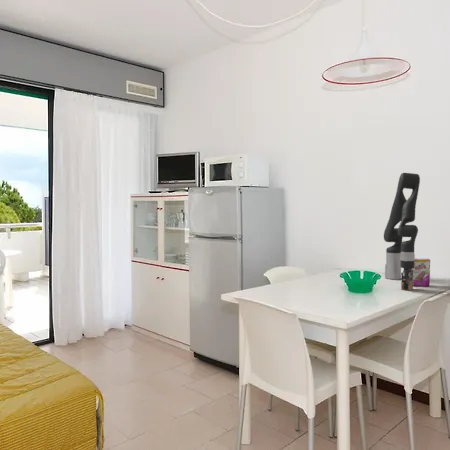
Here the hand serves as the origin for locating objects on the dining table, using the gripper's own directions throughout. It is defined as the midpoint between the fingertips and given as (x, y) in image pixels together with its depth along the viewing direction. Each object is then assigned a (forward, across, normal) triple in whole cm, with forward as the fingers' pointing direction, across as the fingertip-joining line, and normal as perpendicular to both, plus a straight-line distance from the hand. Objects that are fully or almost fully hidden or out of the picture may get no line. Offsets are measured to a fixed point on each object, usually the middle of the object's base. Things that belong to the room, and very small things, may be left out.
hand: (407, 288), depth 242 cm
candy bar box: (+1, -16, +2) cm, 16 cm away
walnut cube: (0, 0, 0) cm, 0 cm away
